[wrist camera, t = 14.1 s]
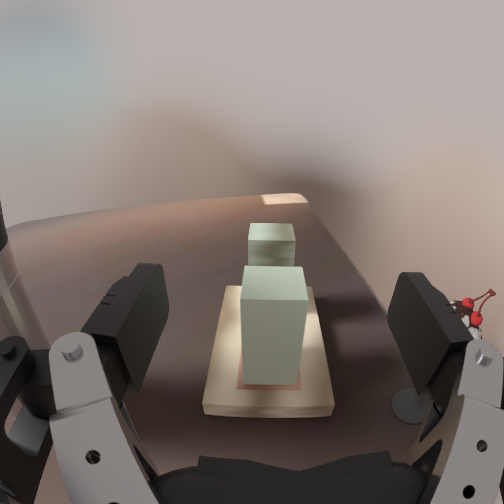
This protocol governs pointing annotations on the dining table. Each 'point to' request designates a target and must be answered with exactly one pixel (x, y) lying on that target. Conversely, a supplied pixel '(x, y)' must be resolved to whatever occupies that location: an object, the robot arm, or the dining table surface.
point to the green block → (272, 324)
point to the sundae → (415, 407)
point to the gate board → (230, 348)
